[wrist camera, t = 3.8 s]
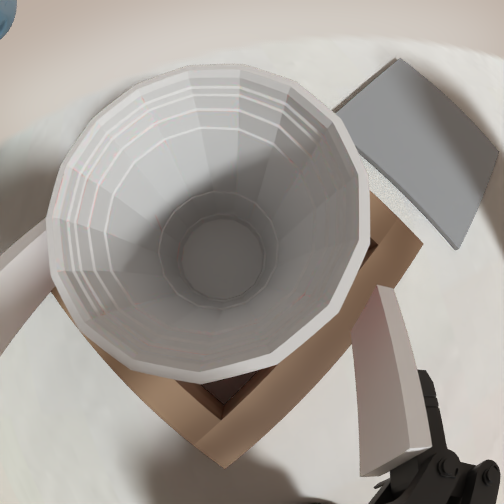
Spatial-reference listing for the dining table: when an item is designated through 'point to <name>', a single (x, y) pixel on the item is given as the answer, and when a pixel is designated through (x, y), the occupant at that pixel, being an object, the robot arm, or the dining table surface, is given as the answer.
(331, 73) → the dining table surface
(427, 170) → the rubber mat
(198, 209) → the plastic cup
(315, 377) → the square wooden frame
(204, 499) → the dining table surface
